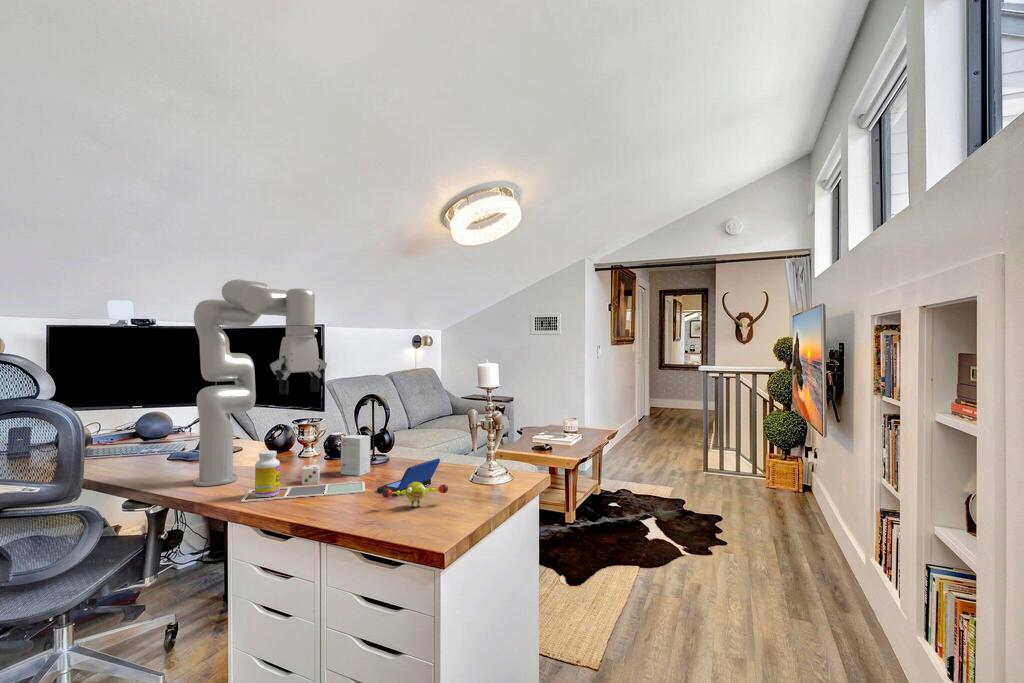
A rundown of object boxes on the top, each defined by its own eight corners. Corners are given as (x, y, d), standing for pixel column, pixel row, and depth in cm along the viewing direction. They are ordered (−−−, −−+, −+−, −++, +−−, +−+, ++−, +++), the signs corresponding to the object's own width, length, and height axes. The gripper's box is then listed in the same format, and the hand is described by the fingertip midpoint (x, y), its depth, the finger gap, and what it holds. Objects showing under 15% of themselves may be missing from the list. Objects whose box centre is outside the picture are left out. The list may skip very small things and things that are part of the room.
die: (303, 481, 163) (303, 465, 163) (319, 479, 164) (319, 464, 164) (301, 484, 158) (301, 469, 158) (318, 483, 159) (318, 468, 159)
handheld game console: (410, 481, 163) (410, 453, 163) (441, 486, 156) (441, 457, 156) (374, 492, 149) (375, 462, 150) (407, 499, 143) (407, 467, 143)
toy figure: (382, 512, 130) (382, 487, 130) (381, 506, 135) (381, 482, 135) (449, 506, 135) (449, 482, 135) (446, 501, 140) (446, 477, 140)
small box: (370, 472, 174) (370, 435, 175) (359, 476, 168) (359, 438, 169) (351, 470, 177) (352, 434, 178) (340, 474, 171) (340, 437, 172)
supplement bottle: (278, 497, 144) (279, 453, 144) (253, 499, 141) (253, 455, 142) (280, 491, 150) (280, 449, 150) (256, 493, 148) (256, 450, 148)
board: (249, 491, 150) (249, 490, 150) (364, 482, 160) (364, 481, 160) (240, 502, 138) (240, 501, 138) (365, 492, 148) (365, 490, 149)
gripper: (317, 334, 148) (317, 390, 148) (263, 331, 133) (262, 394, 133) (334, 333, 144) (333, 391, 144) (280, 331, 129) (279, 395, 129)
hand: (299, 393), depth 138 cm, fingers open, 9 cm apart
